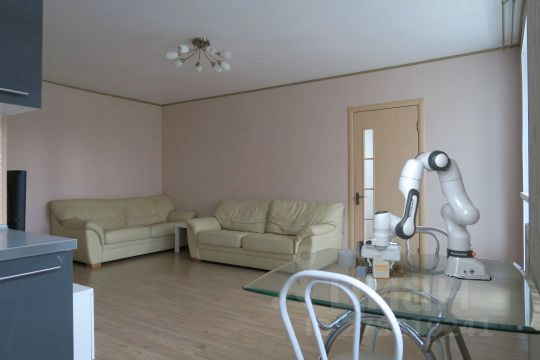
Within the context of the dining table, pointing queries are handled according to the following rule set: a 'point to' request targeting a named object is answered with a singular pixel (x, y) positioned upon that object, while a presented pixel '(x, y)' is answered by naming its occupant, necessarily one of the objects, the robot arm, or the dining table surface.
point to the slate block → (361, 271)
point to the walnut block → (398, 270)
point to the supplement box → (380, 267)
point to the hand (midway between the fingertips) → (380, 267)
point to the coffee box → (359, 259)
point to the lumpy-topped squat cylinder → (347, 257)
